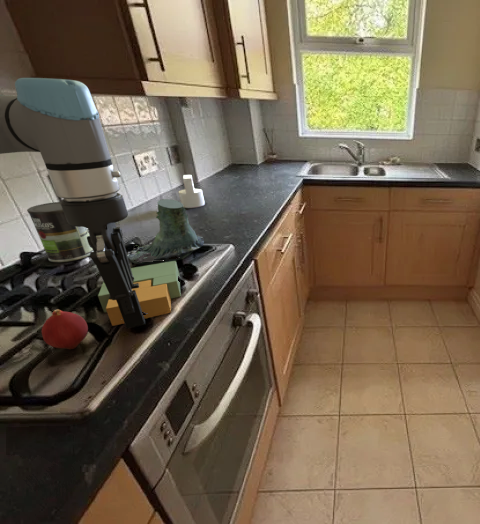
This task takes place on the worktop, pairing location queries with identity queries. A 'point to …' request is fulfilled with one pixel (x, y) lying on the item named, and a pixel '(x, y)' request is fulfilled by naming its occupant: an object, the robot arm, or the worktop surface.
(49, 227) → the coffee can
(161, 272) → the green notched block
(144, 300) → the ochre pad
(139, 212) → the worktop surface
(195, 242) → the tree stump
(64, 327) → the onion
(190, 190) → the base with upright slab
